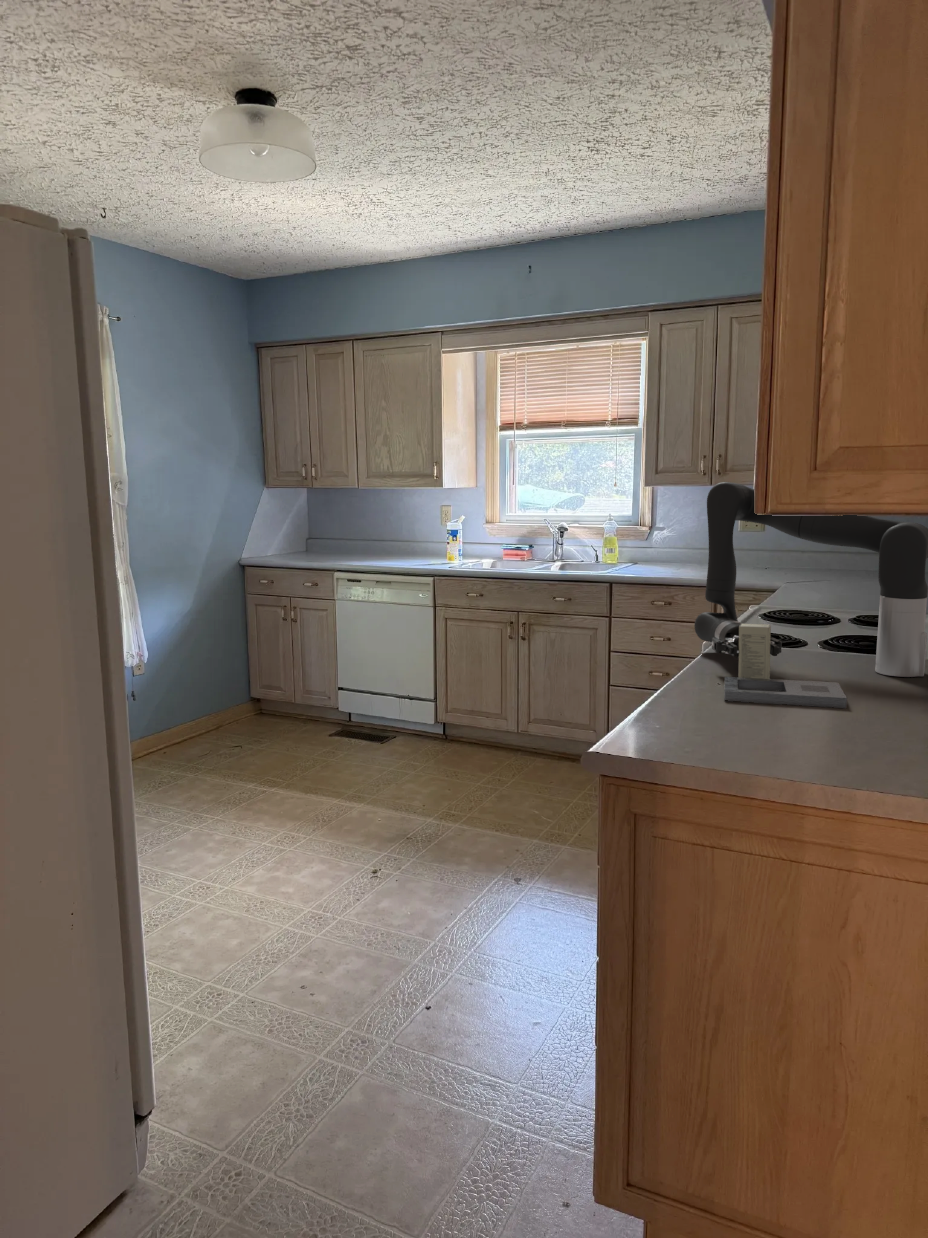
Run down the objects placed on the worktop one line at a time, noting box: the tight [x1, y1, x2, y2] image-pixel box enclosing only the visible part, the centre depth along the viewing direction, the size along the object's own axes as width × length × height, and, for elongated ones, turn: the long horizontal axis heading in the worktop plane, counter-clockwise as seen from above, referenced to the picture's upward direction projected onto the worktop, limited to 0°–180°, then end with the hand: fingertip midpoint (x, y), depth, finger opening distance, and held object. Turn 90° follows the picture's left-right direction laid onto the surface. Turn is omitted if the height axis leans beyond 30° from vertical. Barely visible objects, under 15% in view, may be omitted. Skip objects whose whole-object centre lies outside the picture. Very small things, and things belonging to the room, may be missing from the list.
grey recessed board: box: [723, 676, 848, 709], centre depth 168 cm, size 22×13×2 cm, turn 73°
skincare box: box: [737, 622, 772, 679], centre depth 181 cm, size 6×4×12 cm
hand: (755, 651), depth 180 cm, fingers open, 8 cm apart
